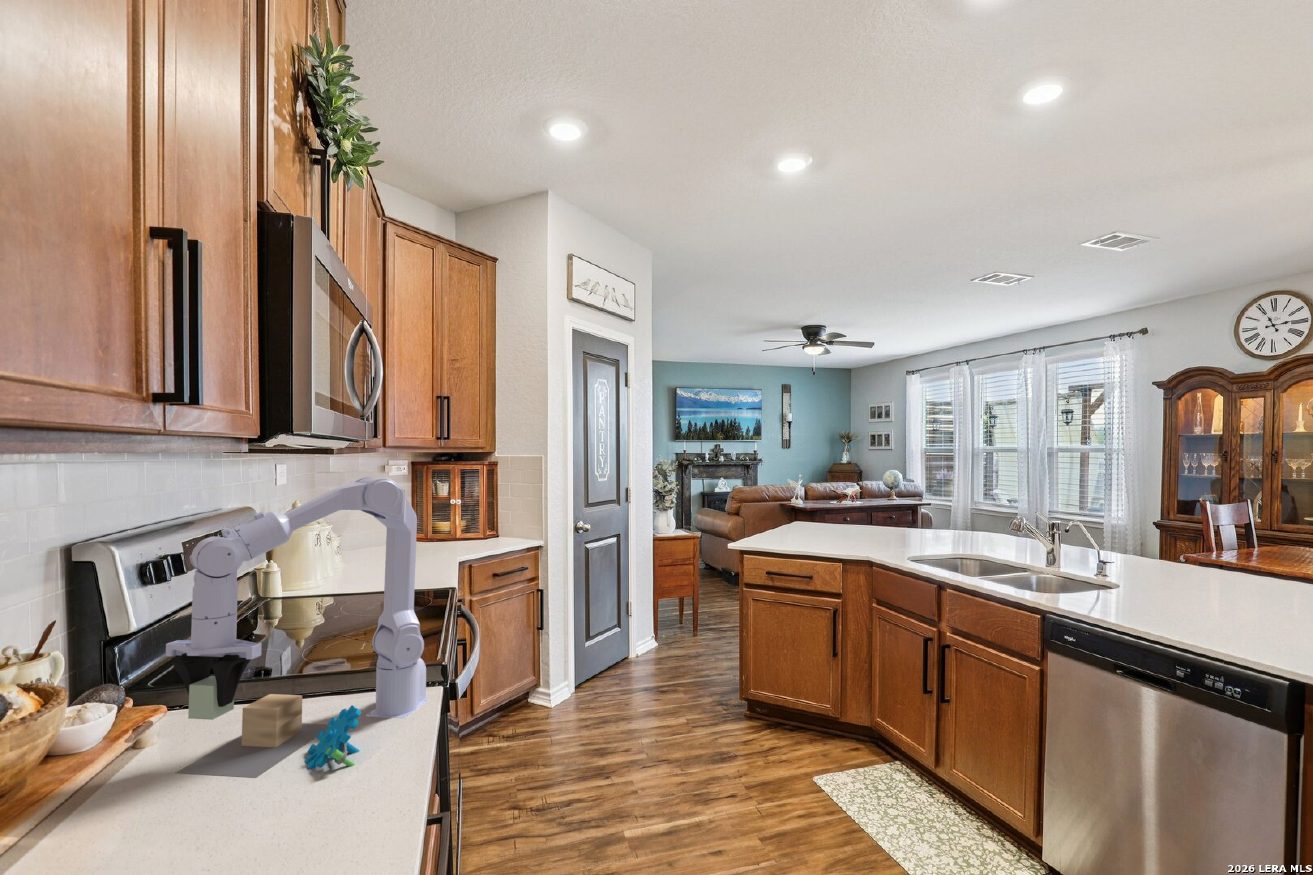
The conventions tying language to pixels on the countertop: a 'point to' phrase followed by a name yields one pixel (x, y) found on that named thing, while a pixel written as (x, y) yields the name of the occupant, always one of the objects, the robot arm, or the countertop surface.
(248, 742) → the base slab
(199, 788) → the countertop surface
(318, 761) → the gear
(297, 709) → the top slab
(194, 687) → the green block
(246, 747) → the mat
